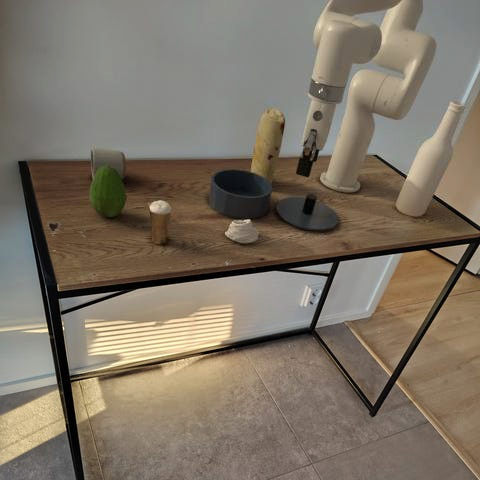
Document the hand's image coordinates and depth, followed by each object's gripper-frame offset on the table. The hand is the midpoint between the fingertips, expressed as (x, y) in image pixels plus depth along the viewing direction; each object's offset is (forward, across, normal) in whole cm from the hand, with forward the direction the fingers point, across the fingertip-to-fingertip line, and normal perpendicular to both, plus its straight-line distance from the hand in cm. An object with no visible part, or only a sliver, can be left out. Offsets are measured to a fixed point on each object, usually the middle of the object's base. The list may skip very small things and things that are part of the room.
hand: (306, 167), depth 105 cm
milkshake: (+14, -27, +26) cm, 40 cm away
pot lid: (+14, +4, -3) cm, 15 cm away
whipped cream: (+14, -16, +10) cm, 23 cm away
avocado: (+14, -23, +40) cm, 48 cm away
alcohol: (+15, +26, -31) cm, 43 cm away
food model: (+15, +16, +13) cm, 25 cm away
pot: (+14, 0, +15) cm, 21 cm away
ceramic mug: (+14, -6, +50) cm, 52 cm away
